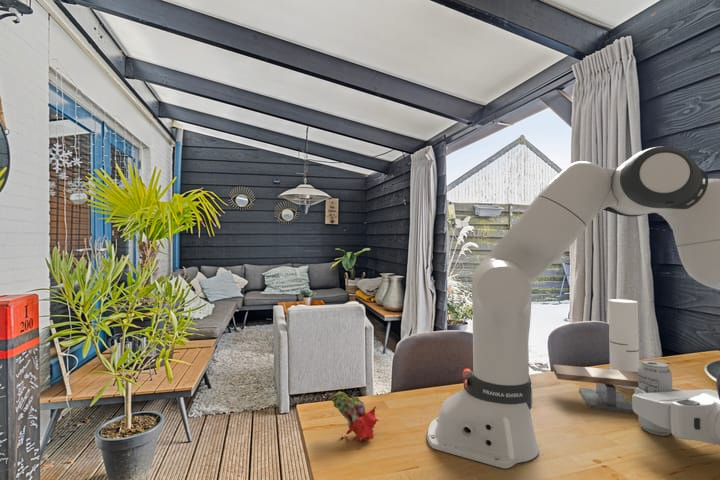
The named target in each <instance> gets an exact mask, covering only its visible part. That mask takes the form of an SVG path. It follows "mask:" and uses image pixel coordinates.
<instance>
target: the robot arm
mask: <svg viewBox="0 0 720 480" xmlns="http://www.w3.org/2000/svg"><path fill="white" fill-rule="evenodd" d="M602 211H605V212H610V213H613V214H615V215H619V216H623V217H632V218H633V217H634V218H635V217H641V216H645V215H647V214H654V213H655V214H657V215H659V216H661V217H662V218H663V219H664V220H665V221H666V222H667V223H668V225H669V227H670V229H672V232H673V237H674V241H675V245H676V249H677V252H678V256H679V259H680V262H681V264H682V266H683V268H684V270H685V271H686V273H687V274H688V276H689V277H690V278H692V279H693V280H695V281H696V282H697V283H700V284H701V285H704V286H706V287H708V288H711V289H714V290H716V291H717V290H718V291H720V178H709V175H708V174H707V172H706V171H705V170H703V169H702V168H700V167H699V166H698V164H697V163H696V161H695V160H694V159H693V157H691V156H690V155H689V154H688V153H686V152H685V151H683V150H681V149H679V148H677V147H673V146H662V145H661V146H654V147H649V148H646V149H644V150H641V151H638V152H636V153H635V154H634V155H632V156H631V157H630V158H628V159H627V160H626V161H624V162H622V163H620V164H619V165H618V166H616V167H614V168H613V167H612V168H606V167H603V166H600V165H599V164H597V163H594V162H593V161H586V160H584V161H583V160H579V161H575V162H572V163H570V164H569V165H568V166H566V167H565V168H564V169H563V170H561V171H560V172H559V173H558V174H557V175H556V176H554V177H553V179H552V180H551V181H549V183H548V184H547V185H546V186H544V188H543V189H542V190H541V192H539V193H538V195H537V196H536V197H535V198H534V199H533V200H532V201H531V203H530V204H529V205H528V206H527V208H526V209H525V211H524V212H523V213H522V214H521V216H519V217H518V219H517V220H516V222H515V223H513V225H512V226H511V227H510V229H509V230H507V232H506V233H505V235H504V236H503V237H502V238H501V239H500V240H499V241H498V242H497V243H496V244H495V246H494V247H493V248H492V250H491V251H490V252H489V253H488V254H487V255H486V256H485V258H483V260H482V261H481V262H480V263H479V265H478V266H477V267H476V269H475V270H474V272H473V275H472V282H471V288H472V289H471V292H472V297H471V298H472V358H473V360H472V364H473V365H472V366H473V367H472V368H473V370H471V369H470V368H464V370H463V371H462V377H463V389H461V390H460V391H458V392H457V393H455V394H454V393H453V395H451V396H450V397H448V398H446V399H445V400H444V401H443V402H442V405H441V407H440V409H439V412H438V416H437V417H435V418H434V419H433V420H432V421H431V422H430V423H429V426H428V429H427V436H426V437H427V438H426V439H427V442H428V445H429V446H430V447H431V448H432V449H434V450H437V451H441V452H444V453H448V454H451V455H455V456H458V457H462V458H466V459H468V460H472V461H476V462H478V463H479V462H480V463H483V464H486V465H490V466H494V467H497V468H501V469H509V468H511V467H514V466H515V465H516V464H519V463H523V462H524V463H525V462H528V461H530V460H531V461H532V460H533V459H535V458H536V457H538V455H539V453H540V448H539V444H538V441H537V438H536V434H535V430H534V425H533V418H532V405H533V384H532V381H531V380H532V379H531V377H530V366H529V365H530V363H529V361H530V360H529V358H530V357H529V353H530V352H529V351H530V350H529V348H530V347H529V340H530V328H531V317H532V316H531V315H532V295H533V294H532V292H533V291H532V290H533V288H532V287H533V286H532V284H533V283H534V282H535V281H536V280H537V279H538V278H539V277H540V276H541V275H543V273H544V272H545V271H546V270H547V269H549V268H550V267H551V266H552V265H553V264H554V263H556V262H557V261H558V260H560V259H561V257H562V256H563V255H564V253H566V251H568V249H569V248H570V247H571V245H572V244H573V243H574V242H575V241H576V240H577V238H579V236H580V235H581V234H583V232H584V231H585V230H586V228H587V227H588V226H590V225H589V224H591V222H593V220H594V218H596V217H597V215H598V214H600V212H602ZM529 377H530V378H529ZM715 381H716V382H715V383H716V384H715V385H716V390H714V389H711V388H703V389H702V388H700V389H687V390H685V389H679V388H674V387H672V391H669V392H655V393H647V390H645V389H643V388H635V389H633V390H634V391H633V392H634V393H633V394H632V396H631V404H632V409H633V411H634V412H635V413H636V414H635V415H637V416H638V417H639V416H641V417H643V418H644V419H646V420H648V421H650V422H652V423H654V424H656V425H658V426H660V427H662V428H665V429H670V430H671V432H670V433H671V434H672V436H674V437H677V438H678V439H682V440H689V441H697V442H702V443H703V442H704V443H707V444H709V445H717V446H720V370H719V371H718V373H717V375H716V380H715Z"/></svg>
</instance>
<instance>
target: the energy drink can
mask: <svg viewBox="0 0 720 480" xmlns="http://www.w3.org/2000/svg"><path fill="white" fill-rule="evenodd" d="M638 388H643V389H645V390H647V393H655V392H669V391H672V388H673V372H672V371H671V369H670V368H669V364H667V363H666V362H664V361H660V360H659V361H658V360H654V359H653V360H651V359H642V360H640V363H639V367H638ZM638 423H639V424H640V425H641V428H642V430H644V431H646V432H648V433H650V434H654V435H658V436H669V435H670V434H671V433H672V432H671V430H670V429H665V428H662V427H660V426H658V425H656V424H654V423H652V422H650V421H648V420H646V419H644V418H643V417H641V416H639V415H638Z"/></svg>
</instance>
